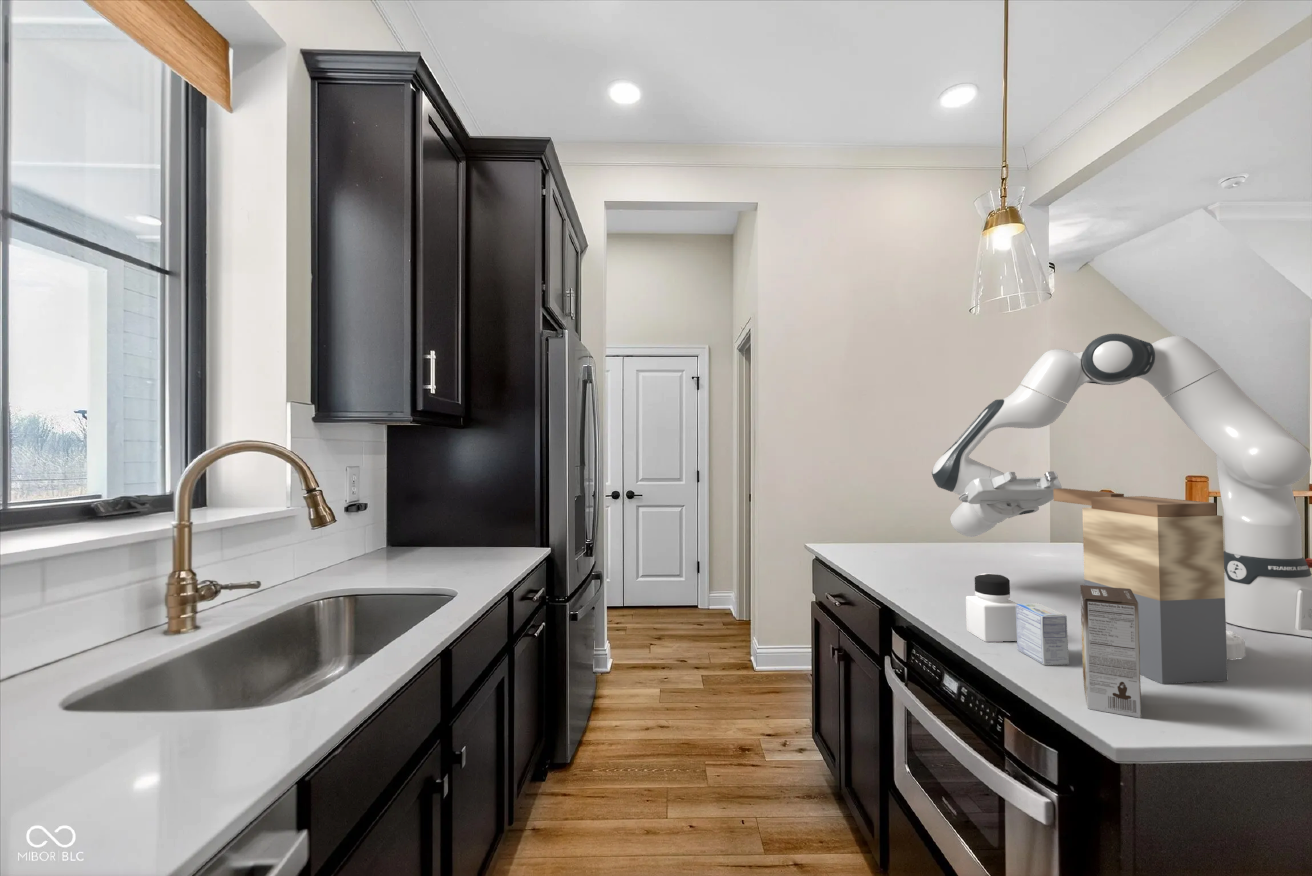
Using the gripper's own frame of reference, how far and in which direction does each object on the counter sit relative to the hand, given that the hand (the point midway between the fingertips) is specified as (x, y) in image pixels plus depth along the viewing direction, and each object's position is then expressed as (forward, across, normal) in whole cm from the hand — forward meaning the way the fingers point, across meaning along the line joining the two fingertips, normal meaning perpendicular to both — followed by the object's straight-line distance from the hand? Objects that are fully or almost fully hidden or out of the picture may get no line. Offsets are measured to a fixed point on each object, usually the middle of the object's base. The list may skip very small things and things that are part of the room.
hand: (1033, 474), depth 129 cm
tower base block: (+9, 0, +40) cm, 41 cm away
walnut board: (+16, 0, +15) cm, 21 cm away
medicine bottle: (-7, -16, +32) cm, 37 cm away
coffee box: (+19, -18, +47) cm, 54 cm away
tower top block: (+15, 0, +29) cm, 33 cm away
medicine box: (+4, -15, +38) cm, 41 cm away
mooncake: (+3, +16, +38) cm, 41 cm away
